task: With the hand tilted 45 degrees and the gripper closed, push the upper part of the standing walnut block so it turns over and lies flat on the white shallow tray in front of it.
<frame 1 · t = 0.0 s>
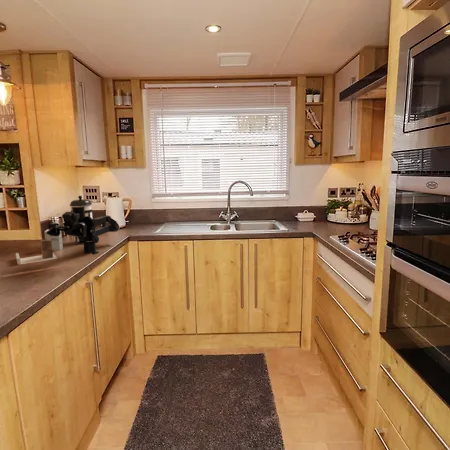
hand: (55, 233, 149), 17 cm above the worktop, tool horizontal, fingers open, 9 cm apart
coffee press: (85, 242, 205), on the worktop
block: (47, 257, 167), point 1 cm above the worktop, touching white shallow tray
white shallow tray: (37, 261, 164), on the worktop
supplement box: (55, 251, 184), on the worktop
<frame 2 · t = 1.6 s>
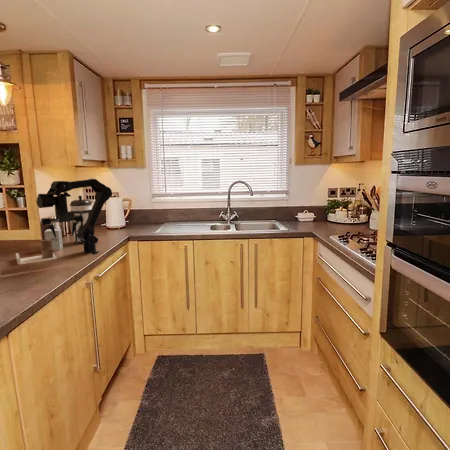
hand: (64, 236, 164), 12 cm above the worktop, tool pointing down, fingers open, 8 cm apart
nothing on the worktop moved.
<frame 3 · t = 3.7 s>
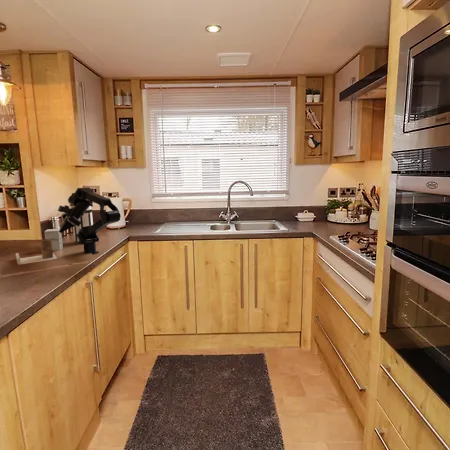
hand: (59, 232, 168), 14 cm above the worktop, tool tilted 45°, fingers closed
nothing on the worktop moved.
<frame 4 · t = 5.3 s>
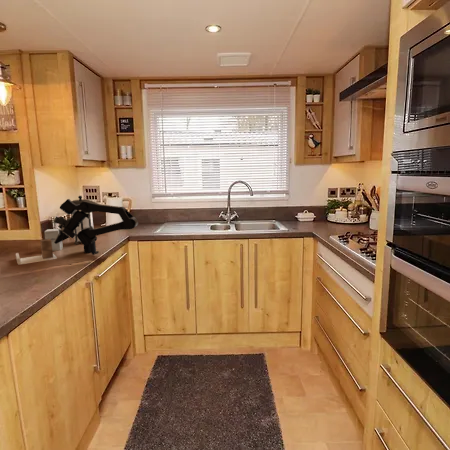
hand: (54, 243, 168), 8 cm above the worktop, tool tilted 45°, fingers closed
nothing on the worktop moved.
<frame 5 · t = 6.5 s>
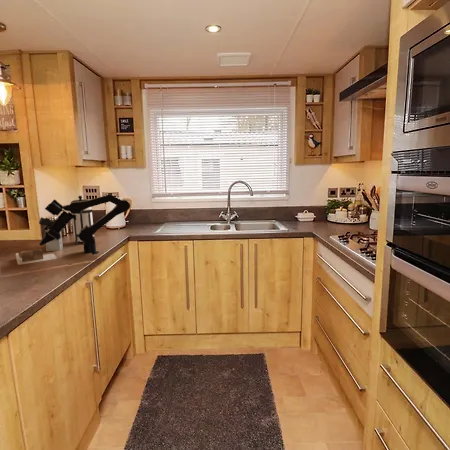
hand: (40, 245, 164), 8 cm above the worktop, tool tilted 45°, fingers closed
block: (42, 253, 165), point 3 cm above the worktop, tilted 90°, touching white shallow tray
everything else where it was.
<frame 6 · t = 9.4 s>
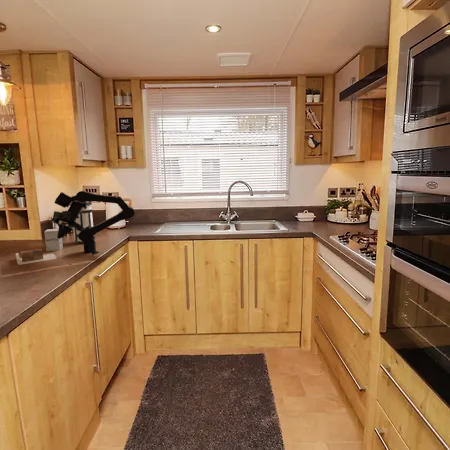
hand: (58, 238, 165), 11 cm above the worktop, tool tilted 35°, fingers closed
nothing on the worktop moved.
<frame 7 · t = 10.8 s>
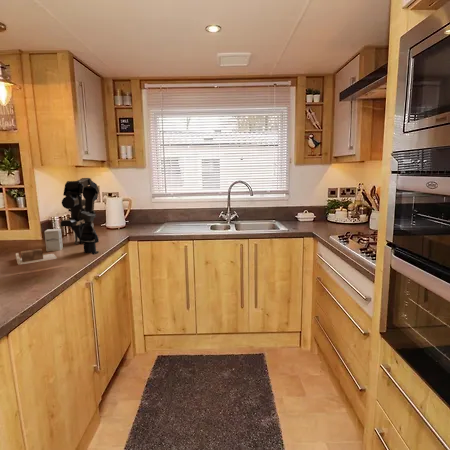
hand: (79, 237, 160), 12 cm above the worktop, tool pointing down, fingers closed
nothing on the worktop moved.
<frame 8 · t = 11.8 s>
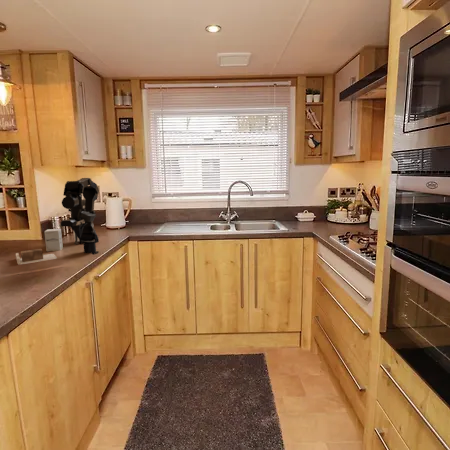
hand: (79, 237, 160), 12 cm above the worktop, tool pointing down, fingers closed
nothing on the worktop moved.
at the end: block tilted 90°; block 2.7 cm from the white shallow tray (horizontally); block point 3.4 cm above the worktop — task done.
